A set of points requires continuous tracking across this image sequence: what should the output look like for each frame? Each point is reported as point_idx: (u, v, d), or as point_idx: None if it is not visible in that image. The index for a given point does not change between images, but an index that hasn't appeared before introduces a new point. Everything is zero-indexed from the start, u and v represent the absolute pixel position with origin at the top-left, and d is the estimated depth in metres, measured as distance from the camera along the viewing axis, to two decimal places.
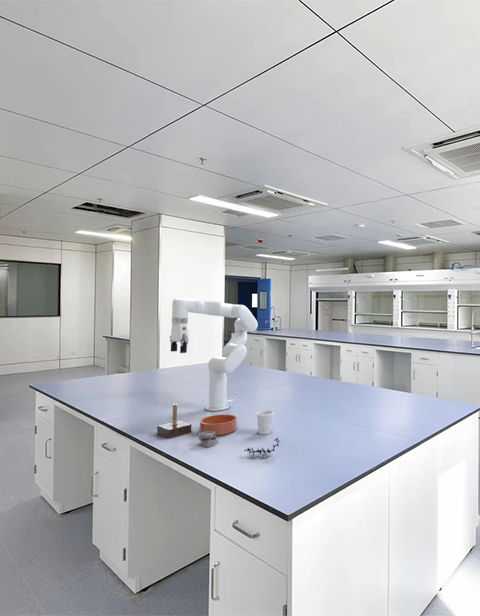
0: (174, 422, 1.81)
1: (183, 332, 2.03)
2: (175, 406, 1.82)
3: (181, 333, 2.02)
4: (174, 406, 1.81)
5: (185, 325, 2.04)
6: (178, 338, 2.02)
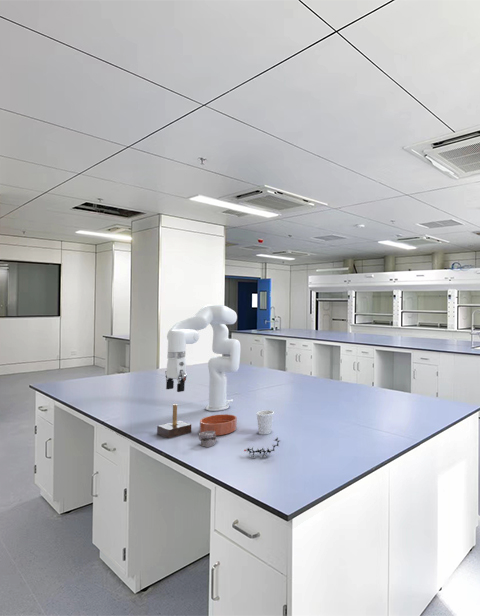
0: (174, 422, 1.81)
1: (180, 368, 1.80)
2: (175, 406, 1.82)
3: (178, 369, 1.79)
4: (174, 406, 1.81)
5: (183, 360, 1.81)
6: (175, 375, 1.79)
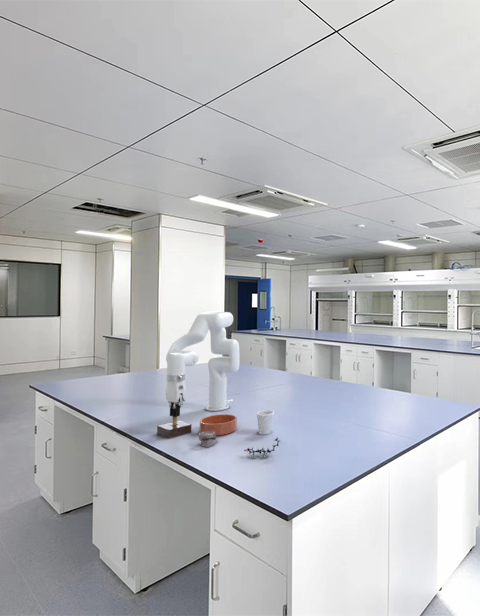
0: (174, 422, 1.81)
1: (180, 392, 1.79)
2: None
3: (178, 393, 1.79)
4: None
5: (182, 383, 1.80)
6: (174, 399, 1.79)
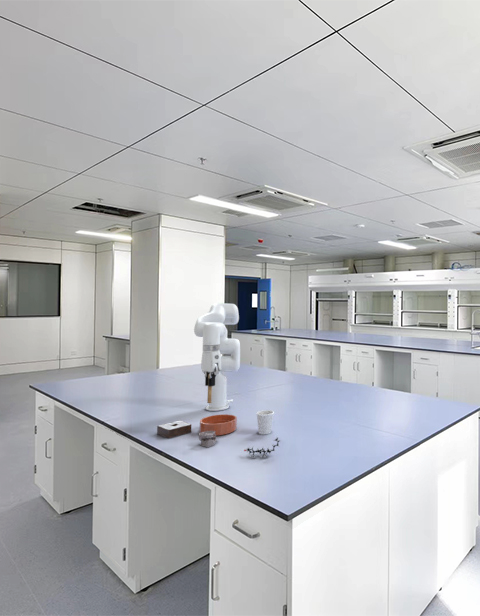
0: (209, 392, 1.83)
1: (216, 361, 1.81)
2: None
3: (214, 362, 1.80)
4: None
5: (218, 353, 1.82)
6: (210, 368, 1.80)
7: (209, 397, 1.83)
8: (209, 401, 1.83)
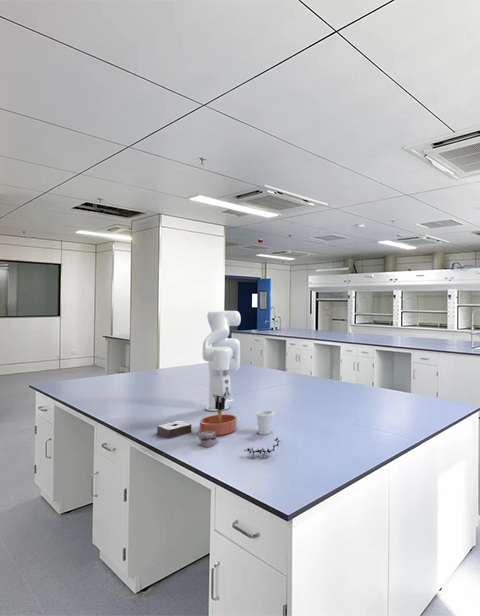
0: (219, 415, 1.89)
1: (226, 386, 1.87)
2: None
3: (224, 387, 1.86)
4: None
5: (227, 378, 1.88)
6: (220, 392, 1.86)
7: (219, 420, 1.89)
8: None
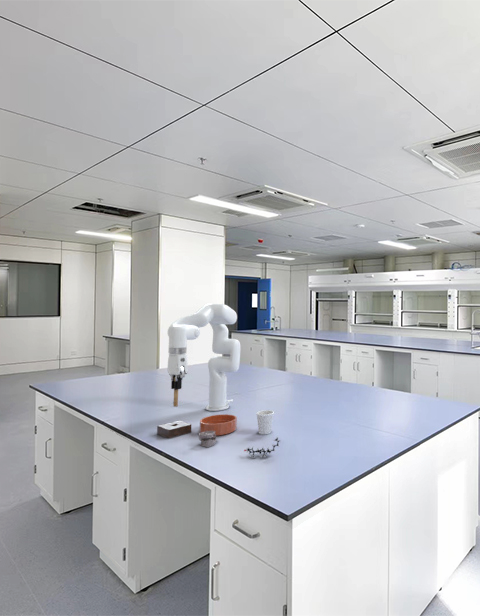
0: (175, 395, 1.81)
1: (182, 364, 1.79)
2: None
3: (179, 365, 1.79)
4: None
5: (184, 356, 1.81)
6: (176, 371, 1.79)
7: (175, 400, 1.81)
8: (175, 404, 1.81)
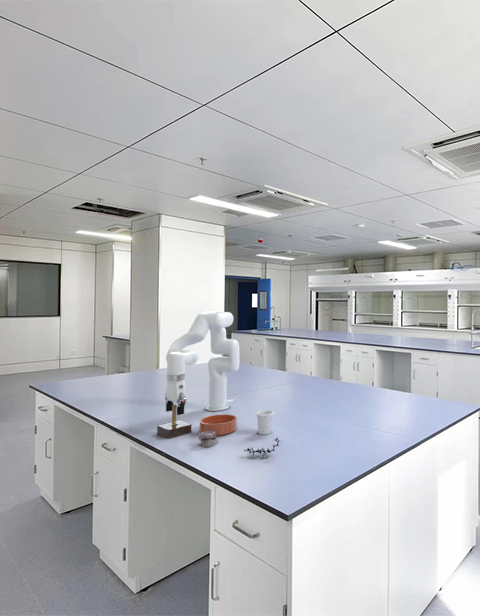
0: (173, 422, 1.81)
1: (180, 391, 1.79)
2: (174, 406, 1.81)
3: (178, 392, 1.79)
4: (173, 406, 1.81)
5: (182, 383, 1.81)
6: (174, 398, 1.79)
7: None
8: None
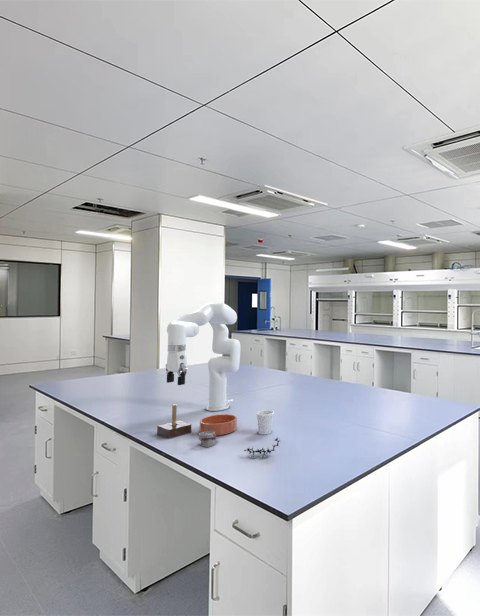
0: (173, 422, 1.81)
1: (181, 361, 1.79)
2: (174, 406, 1.81)
3: (178, 363, 1.79)
4: (173, 406, 1.81)
5: (183, 353, 1.80)
6: (175, 368, 1.79)
7: None
8: None
